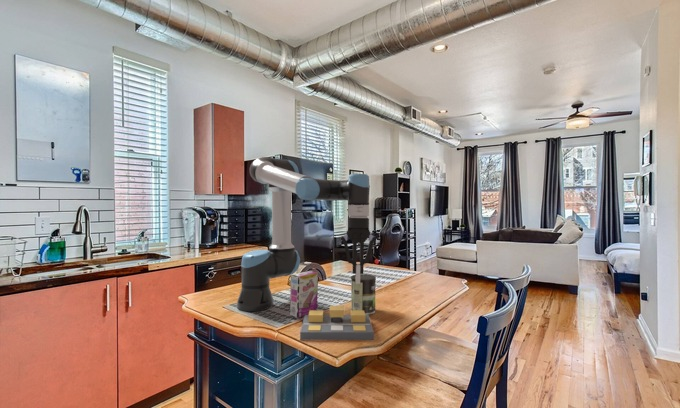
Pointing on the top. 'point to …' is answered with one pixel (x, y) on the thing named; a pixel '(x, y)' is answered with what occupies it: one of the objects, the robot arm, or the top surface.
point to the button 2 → (336, 313)
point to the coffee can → (363, 294)
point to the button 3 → (357, 316)
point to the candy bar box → (303, 293)
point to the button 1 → (315, 316)
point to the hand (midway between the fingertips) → (357, 282)
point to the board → (336, 329)
